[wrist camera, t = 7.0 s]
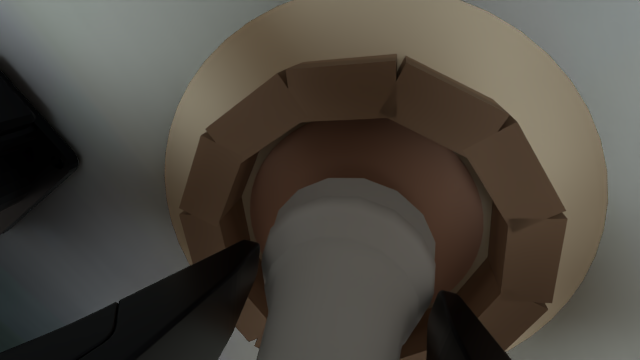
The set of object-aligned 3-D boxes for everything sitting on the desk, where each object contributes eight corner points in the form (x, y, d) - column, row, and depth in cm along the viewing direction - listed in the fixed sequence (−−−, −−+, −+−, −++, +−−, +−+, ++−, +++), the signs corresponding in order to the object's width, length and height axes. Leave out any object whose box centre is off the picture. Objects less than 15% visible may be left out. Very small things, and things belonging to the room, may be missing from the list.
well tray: (319, 389, 16) (305, 452, 14) (111, 149, 13) (49, 177, 11) (662, 282, 11) (731, 353, 9) (448, -144, 8) (466, -208, 6)
